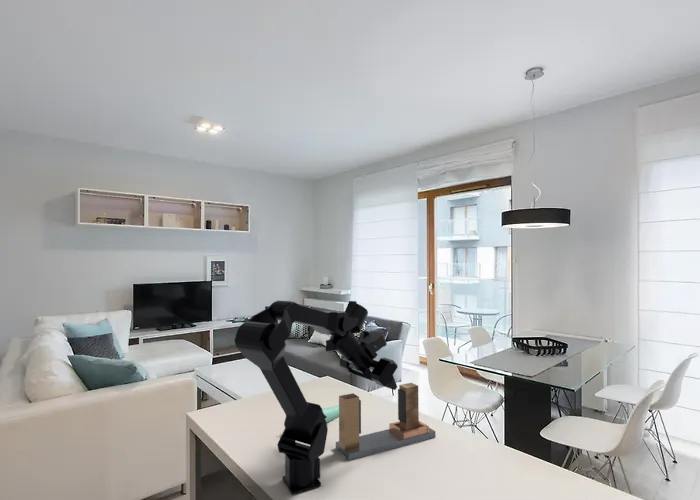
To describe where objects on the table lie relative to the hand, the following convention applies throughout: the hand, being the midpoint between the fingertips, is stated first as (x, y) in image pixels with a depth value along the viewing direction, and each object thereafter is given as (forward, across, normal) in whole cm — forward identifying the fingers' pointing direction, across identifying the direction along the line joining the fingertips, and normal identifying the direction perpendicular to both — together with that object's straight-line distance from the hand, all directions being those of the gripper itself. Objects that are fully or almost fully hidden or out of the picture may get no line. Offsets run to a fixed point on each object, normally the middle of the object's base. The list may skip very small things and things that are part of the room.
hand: (384, 383), depth 104 cm
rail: (+8, -3, +11) cm, 14 cm away
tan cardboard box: (+12, -4, +5) cm, 14 cm away
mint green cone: (+6, +19, +14) cm, 24 cm away
